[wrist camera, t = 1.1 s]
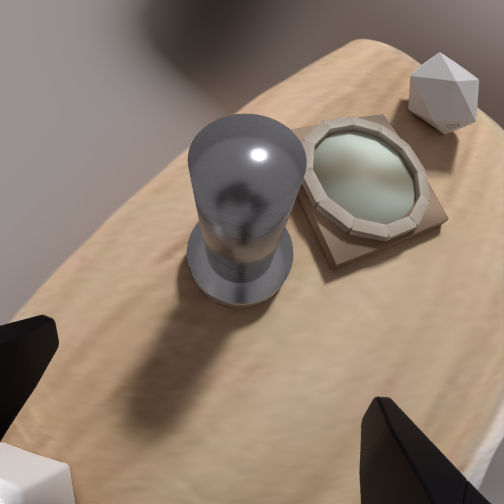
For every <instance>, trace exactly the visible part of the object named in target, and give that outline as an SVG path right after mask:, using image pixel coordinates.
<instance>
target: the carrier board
mask: <svg viewBox="0 0 504 504" xmlns="http://www.w3.org/2000/svg"><path fill="white" fill-rule="evenodd" d="M291 131H292V132H293V133H294V134H295V135H296V136H297V137H298V139H299V140H300V142H301V143H302V145H303V147H304V150H305V153H306V159H307V167H306V172H305V175H304V178H303V181H302V183H301V186H300V189H299V192H298V194H297V196H298V198H299V200H300V202H301V205H302V207H303V209H304V211H305V213H306V215H307V217H308V219H309V221H310V223H311V226H312V228H313V230H314V232H315V234H316V236H317V238H318V241H319V243H320V245H321V247H322V249H323V251H324V254H325V256H326V258H327V260H328V263H329V265H330V267H331V269H332V270H333V269H335V268H338V267H340V266H343V265H345V264H348V263H351V262H353V261H356V260H358V259H361V258H363V257H366V256H368V255H371V254H373V253H375V252H378V251H380V250H383V249H385V248H388V247H390V246H393V245H395V244H397V243H400V242H402V241H405V240H407V239H409V238H412V237H414V236H416V235H419V234H421V233H424V232H426V231H428V230H431V229H433V228H435V227H437V226H440V225H442V224H443V223H444V222H446V221H447V220H448V217H447V215H446V213H445V211H444V209H443V207H442V205H441V204H440V202H439V200H438V198H437V196H436V195H435V193H434V191H433V189H432V188H431V186H430V184H429V183H428V179H427V173H426V170H425V169H424V167H423V165H422V164H421V162H420V161H419V159H418V158H417V156H416V155H415V153H414V151H413V150H412V148H411V147H410V145H408V144H407V143H406V142H405V141H404V140H402V139H401V138H400V137H399V136H398V134H397V133H396V132H395V130H394V129H393V127H392V126H391V124H390V123H389V122H388V120H387V119H386V118H385V116H384V115H383V114H381V115H374V116H367V117H360V118H356V117H351V116H348V117H342V118H336V119H330V120H324V121H323V122H320V123H319V124H318V125H313V126H307V127H302V128H297V129H292V130H291ZM407 145H408V146H407Z"/></svg>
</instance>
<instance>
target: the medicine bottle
mask: <svg viewBox="0 0 504 504" xmlns="http://www.w3.org/2000/svg"><path fill="white" fill-rule="evenodd" d="M0 504H76V503H75V498H74V492H73V486H72V479H71V472H70V467H69V465H68V464H66V463H63V462H59V461H56V460H53V459H49V458H46V457H43V456H40V455H37V454H34V453H31V452H28V451H26V450H23V449H20V448H17V447H15V446H12V445H10V444H7V443H4V442H2V443H0Z"/></svg>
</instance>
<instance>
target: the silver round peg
mask: <svg viewBox="0 0 504 504" xmlns="http://www.w3.org/2000/svg"><path fill="white" fill-rule="evenodd" d="M188 167H189V172H190V177H191V182H192V188H193V193H194V198H195V202H196V207H197V212H198V217H199V222H198V223H197V224H196V226H195V227H194V229H193V231H192V233H191V235H190V238H189V241H188V246H187V260H188V265H189V268H190V271H191V273H192V276H193V278H194V280H195V282H196V284H197V286H198V287H199V288H200V290H201V291H202V292H203V293H204V294H205V295H206V296H207V297H208V298H210V299H211V300H213V301H214V302H216V303H218V304H221V305H223V306H227V307H231V308H248V307H253V306H256V305H259V304H261V303H264V302H265V301H267V300H268V299H270V298H271V297H272V296H274V295H275V294H276V292H277V291H278V290H279V289H280V287H281V286H282V285H283V283H284V281H285V280H286V278H287V276H288V274H289V272H290V269H291V266H292V262H293V246H292V241H291V238H290V235H289V233H288V231H287V229H286V228H285V226H286V224H287V221H288V218H289V216H290V213H291V210H292V208H293V205H294V202H295V200H296V197H297V194H298V192H299V189H300V186H301V183H302V181H303V178H304V175H305V172H306V167H307V159H306V153H305V150H304V147H303V145H302V143H301V142H300V140H299V139H298V137H297V136H296V135H295V134H294V133H293V132H292V131H291V130H290V129H289V128H288V127H286V126H285V125H283V124H282V123H280V122H278V121H276V120H274V119H271V118H268V117H265V116H261V115H256V114H235V115H230V116H226V117H222V118H220V119H218V120H216V121H213V122H212V123H210V124H208V125H207V126H206V127H204V128H203V129H202V130H201V131H200V132H199V133H198V134H197V135H196V137H195V138H194V140H193V141H192V144H191V146H190V149H189V153H188Z"/></svg>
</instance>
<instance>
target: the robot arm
mask: <svg viewBox="0 0 504 504" xmlns="http://www.w3.org/2000/svg"><path fill="white" fill-rule="evenodd" d="M58 346H59V339H58V334H57V328H56V323H55V321H54V319H53V318H50V317H48V316H46V315H39V316H35V317H31V318H28V319H24V320H20V321H16V322H12V323H9V324H5V325H1V326H0V442H1V440H2V438H3V437H4V435H5V433H6V432H7V430H8V429H9V427H10V425H11V424H12V422H13V421H14V419H15V418H16V416H17V415H18V413H19V412H20V410H21V408H22V407H23V405H24V404H25V402H26V401H27V399H28V398H29V397H30V395H31V394H32V392H33V391H34V389H35V388H36V386H37V384H38V383H39V381H40V379H41V377H42V375H43V374H44V372H45V370H46V368H47V366H48V365H49V363H50V361H51V359H52V358H53V356H54V354H55V352H56V351H57V349H58ZM360 492H361V504H491V503H490V502H489V501H488V500H487V499H486V498H485V497H484V496H483V495H482V494H480V492H479V491H478V490H477V489H476V488H475V487H474V486H473V485H472V484H471V483H470V482H469V481H467V479H466V478H465V477H464V476H463V475H462V474H461V472H460V471H459V470H458V469H457V468H456V467H455V466H454V465H453V464H452V463H451V462H450V461H449V460H448V459H447V458H446V457H445V455H444V454H443V453H442V452H441V451H440V450H439V449H438V448H437V447H436V446H435V445H434V444H433V443H432V442H431V441H430V440H429V438H428V437H427V436H426V435H425V434H424V433H423V432H422V431H421V430H420V429H419V428H418V427H417V426H416V425H415V424H414V423H413V422H412V420H411V419H410V418H409V417H408V416H407V415H406V414H405V413H404V412H403V411H402V410H401V409H400V408H399V407H398V406H397V405H396V403H395V402H394V401H393V400H392V399H391V398H388V397H375V398H374V399H373V400H372V402H371V404H370V406H369V407H368V409H367V411H366V413H365V414H364V416H363V419H362V423H361V449H360Z"/></svg>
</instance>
